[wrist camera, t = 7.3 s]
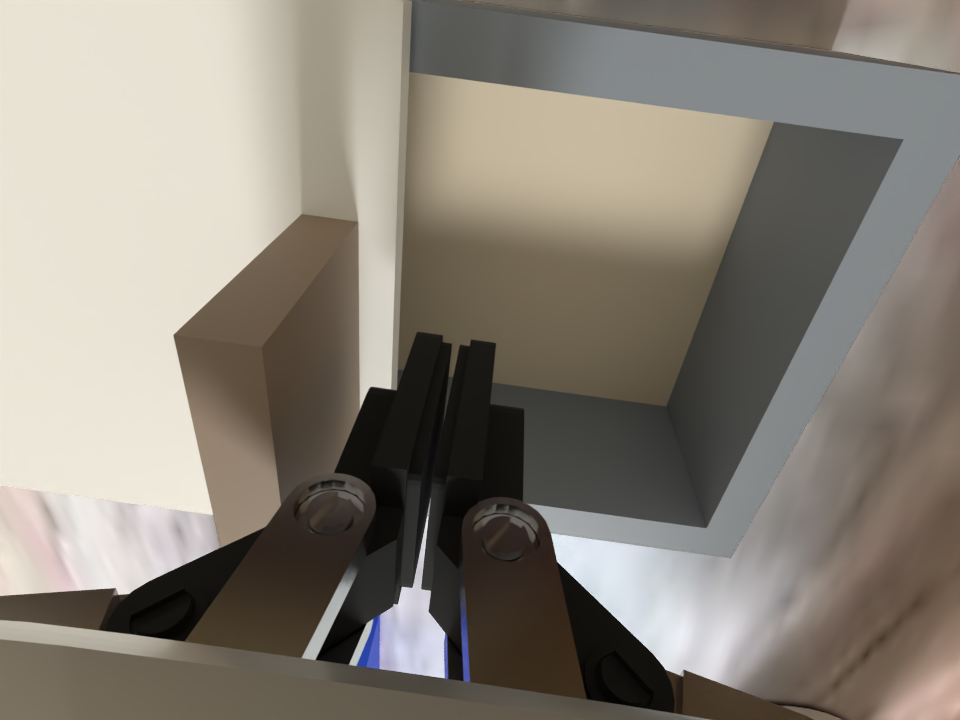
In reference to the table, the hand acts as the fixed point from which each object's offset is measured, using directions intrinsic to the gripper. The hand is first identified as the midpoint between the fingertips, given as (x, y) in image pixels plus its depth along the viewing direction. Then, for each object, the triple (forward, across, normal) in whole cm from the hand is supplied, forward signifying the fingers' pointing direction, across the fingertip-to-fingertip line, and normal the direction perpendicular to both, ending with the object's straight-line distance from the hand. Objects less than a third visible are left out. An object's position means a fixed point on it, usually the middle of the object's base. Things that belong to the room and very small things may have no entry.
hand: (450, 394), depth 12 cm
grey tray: (+10, +2, 0) cm, 10 cm away
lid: (+2, +13, 0) cm, 13 cm away
